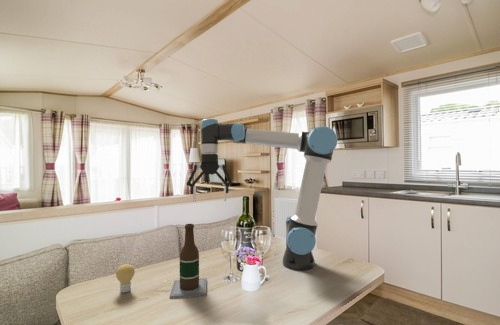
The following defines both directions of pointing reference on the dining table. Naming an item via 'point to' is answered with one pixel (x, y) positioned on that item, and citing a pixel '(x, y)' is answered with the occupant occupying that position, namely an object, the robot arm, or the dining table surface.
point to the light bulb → (125, 277)
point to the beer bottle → (189, 261)
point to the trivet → (180, 293)
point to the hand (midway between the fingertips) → (209, 201)
